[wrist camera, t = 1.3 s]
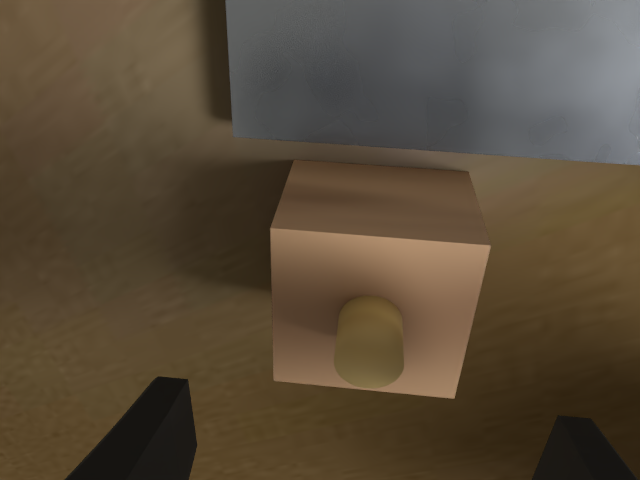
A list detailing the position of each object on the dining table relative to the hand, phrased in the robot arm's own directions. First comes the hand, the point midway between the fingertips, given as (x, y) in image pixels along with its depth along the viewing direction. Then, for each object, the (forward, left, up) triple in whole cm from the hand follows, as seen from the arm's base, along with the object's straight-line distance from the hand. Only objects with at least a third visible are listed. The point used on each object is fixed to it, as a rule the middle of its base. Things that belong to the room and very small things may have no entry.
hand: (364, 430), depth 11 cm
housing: (0, 0, -7) cm, 7 cm away
